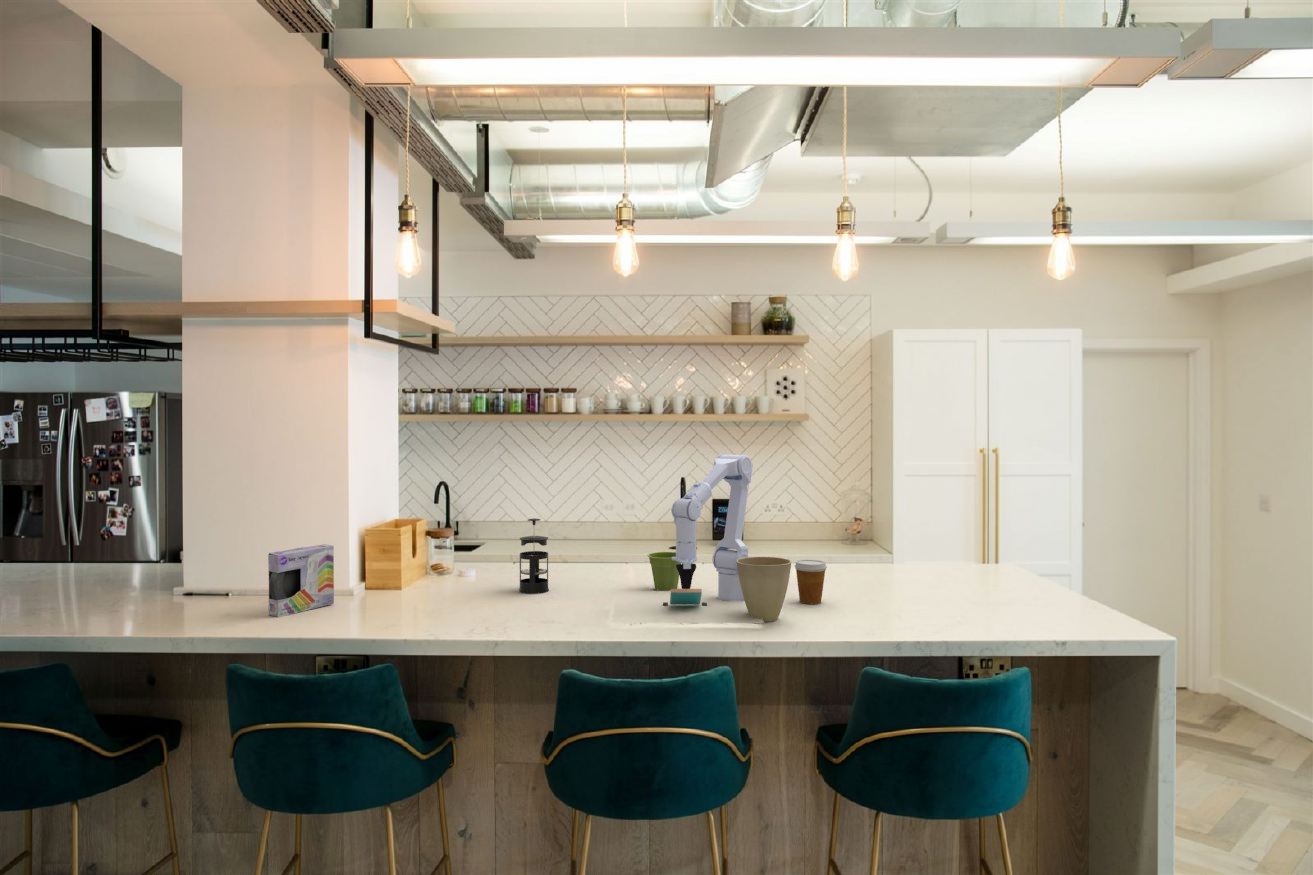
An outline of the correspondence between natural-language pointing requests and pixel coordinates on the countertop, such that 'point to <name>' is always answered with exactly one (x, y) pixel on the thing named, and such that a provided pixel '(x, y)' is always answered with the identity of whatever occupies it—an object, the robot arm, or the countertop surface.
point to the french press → (534, 565)
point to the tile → (685, 596)
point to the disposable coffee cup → (810, 580)
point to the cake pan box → (300, 579)
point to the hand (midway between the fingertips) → (686, 590)
